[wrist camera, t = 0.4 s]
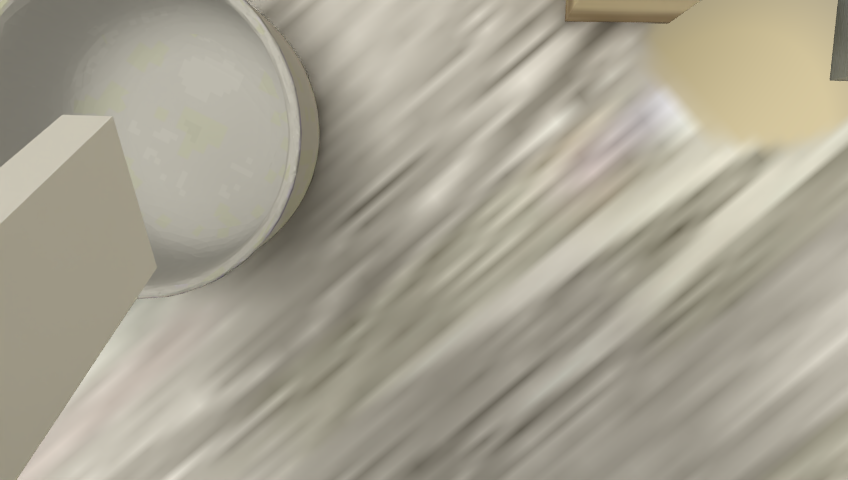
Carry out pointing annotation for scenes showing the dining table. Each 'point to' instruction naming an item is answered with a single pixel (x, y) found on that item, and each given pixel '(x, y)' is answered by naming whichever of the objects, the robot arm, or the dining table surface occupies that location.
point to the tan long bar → (626, 10)
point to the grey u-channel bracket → (840, 44)
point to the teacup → (172, 116)
